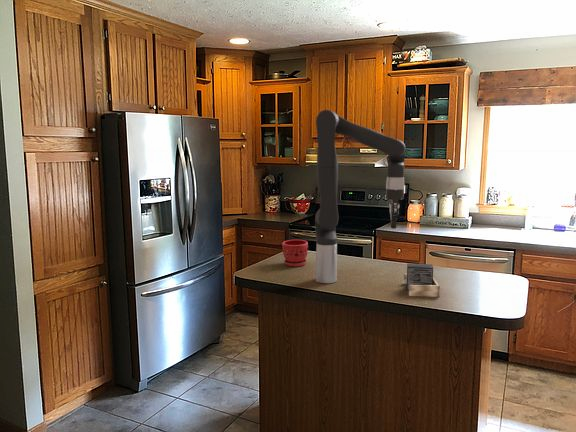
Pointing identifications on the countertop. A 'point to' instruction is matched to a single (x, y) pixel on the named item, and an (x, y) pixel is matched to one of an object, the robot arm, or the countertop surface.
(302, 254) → the plant pot
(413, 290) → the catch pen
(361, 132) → the robot arm
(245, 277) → the countertop surface
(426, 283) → the small box
